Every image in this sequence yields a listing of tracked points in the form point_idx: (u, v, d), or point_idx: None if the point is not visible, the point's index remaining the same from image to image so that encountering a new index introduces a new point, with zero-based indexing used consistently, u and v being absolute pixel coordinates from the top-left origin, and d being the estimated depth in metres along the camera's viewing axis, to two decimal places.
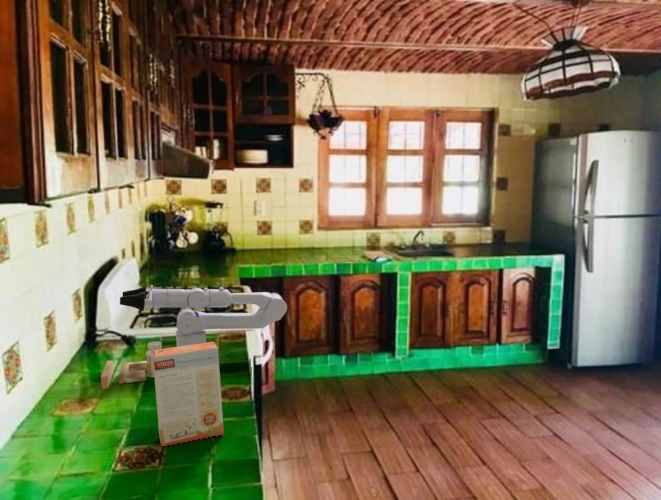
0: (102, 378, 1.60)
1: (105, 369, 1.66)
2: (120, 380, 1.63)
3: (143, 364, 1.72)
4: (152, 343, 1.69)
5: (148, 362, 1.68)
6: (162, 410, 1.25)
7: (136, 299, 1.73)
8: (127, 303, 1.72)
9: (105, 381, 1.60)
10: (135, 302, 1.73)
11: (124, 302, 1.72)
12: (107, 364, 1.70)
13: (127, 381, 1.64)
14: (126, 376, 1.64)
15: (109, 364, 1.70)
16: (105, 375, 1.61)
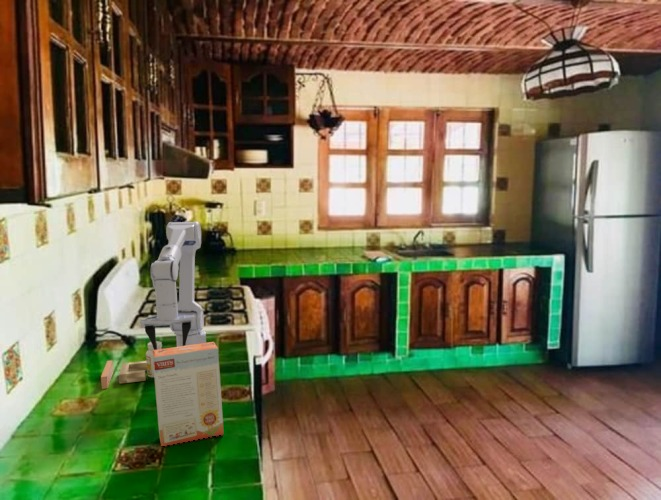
0: (102, 378, 1.60)
1: (105, 369, 1.66)
2: (120, 380, 1.63)
3: (143, 364, 1.72)
4: None
5: (148, 362, 1.68)
6: (162, 410, 1.25)
7: None
8: None
9: (105, 381, 1.60)
10: None
11: None
12: (107, 364, 1.70)
13: (127, 381, 1.64)
14: (126, 376, 1.64)
15: (109, 364, 1.70)
16: (105, 375, 1.61)
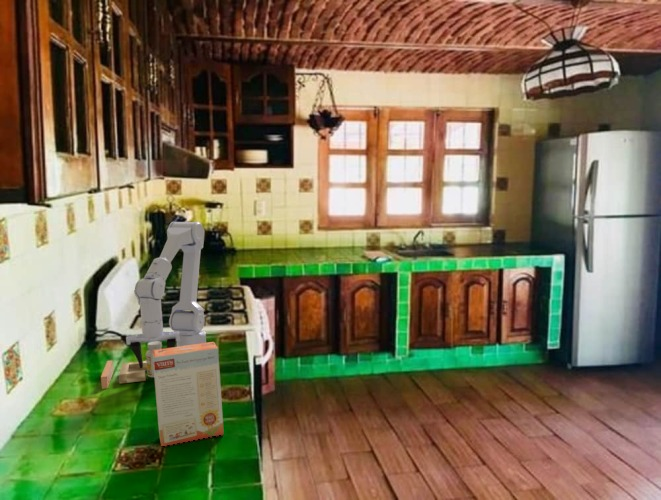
0: (102, 378, 1.60)
1: (105, 369, 1.66)
2: (120, 380, 1.63)
3: (143, 364, 1.72)
4: (152, 343, 1.69)
5: (148, 362, 1.68)
6: (162, 410, 1.25)
7: None
8: None
9: (105, 381, 1.60)
10: None
11: None
12: (107, 364, 1.70)
13: (127, 381, 1.64)
14: (126, 376, 1.64)
15: (109, 364, 1.70)
16: (105, 375, 1.61)
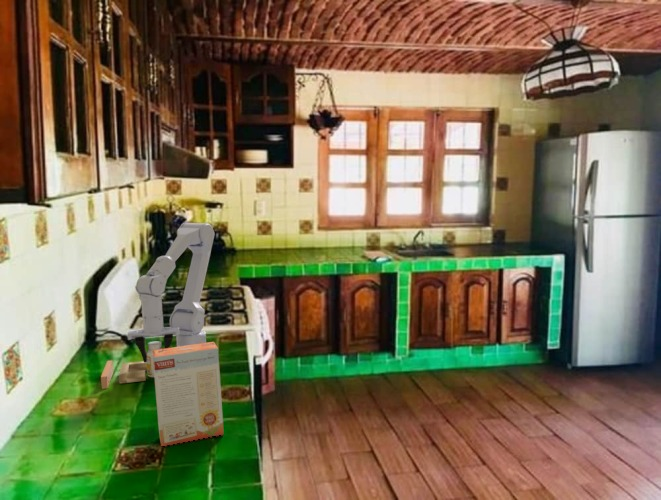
0: (102, 378, 1.60)
1: (105, 369, 1.66)
2: (120, 380, 1.63)
3: (143, 364, 1.72)
4: (152, 343, 1.69)
5: (148, 362, 1.68)
6: (162, 410, 1.25)
7: None
8: None
9: (105, 381, 1.60)
10: None
11: None
12: (107, 364, 1.70)
13: (127, 381, 1.64)
14: (126, 376, 1.64)
15: (109, 364, 1.70)
16: (105, 375, 1.61)
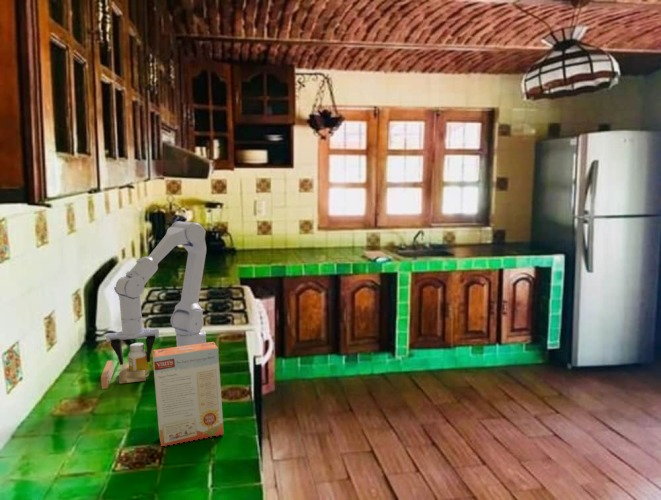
0: (102, 378, 1.60)
1: (105, 369, 1.66)
2: (120, 380, 1.63)
3: None
4: (134, 345, 1.68)
5: (130, 364, 1.67)
6: (162, 410, 1.25)
7: None
8: None
9: (105, 381, 1.60)
10: None
11: None
12: (107, 364, 1.70)
13: (127, 381, 1.64)
14: (126, 376, 1.64)
15: (109, 364, 1.70)
16: (105, 375, 1.61)
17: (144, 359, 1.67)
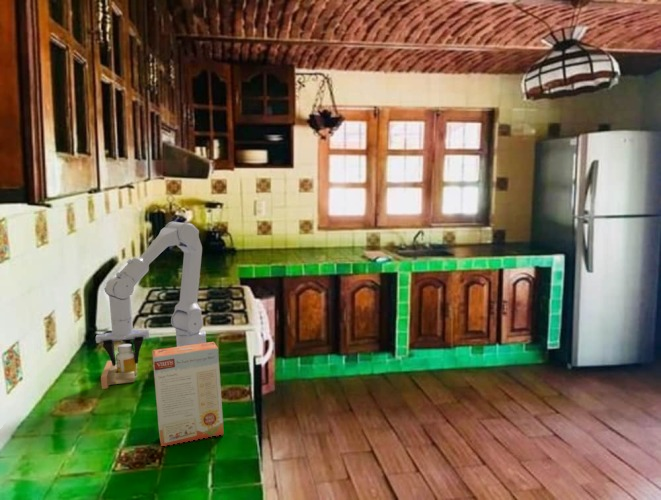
0: (102, 378, 1.60)
1: (105, 369, 1.66)
2: (109, 381, 1.63)
3: None
4: (122, 346, 1.67)
5: (118, 365, 1.66)
6: (162, 410, 1.25)
7: None
8: None
9: (105, 381, 1.60)
10: None
11: None
12: (107, 364, 1.70)
13: (116, 382, 1.63)
14: (115, 377, 1.63)
15: (109, 364, 1.70)
16: (105, 375, 1.61)
17: (132, 360, 1.67)
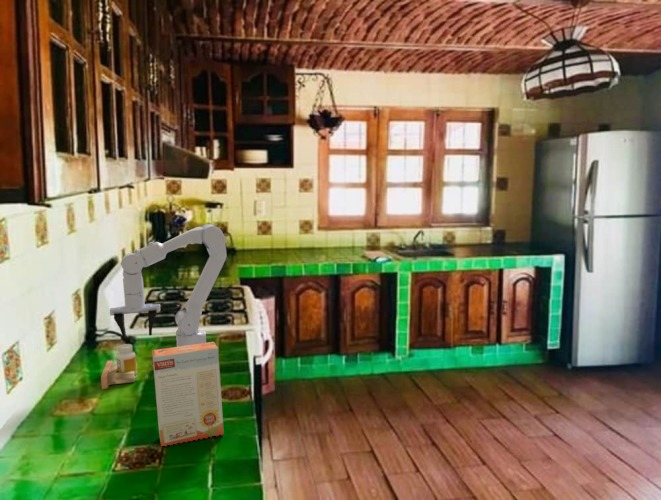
0: (102, 378, 1.60)
1: (105, 369, 1.66)
2: (109, 381, 1.63)
3: None
4: (122, 346, 1.67)
5: (118, 365, 1.66)
6: (162, 410, 1.25)
7: None
8: None
9: (105, 381, 1.60)
10: None
11: None
12: (107, 364, 1.70)
13: (116, 382, 1.63)
14: (115, 377, 1.63)
15: (109, 364, 1.70)
16: (105, 375, 1.61)
17: (132, 361, 1.67)
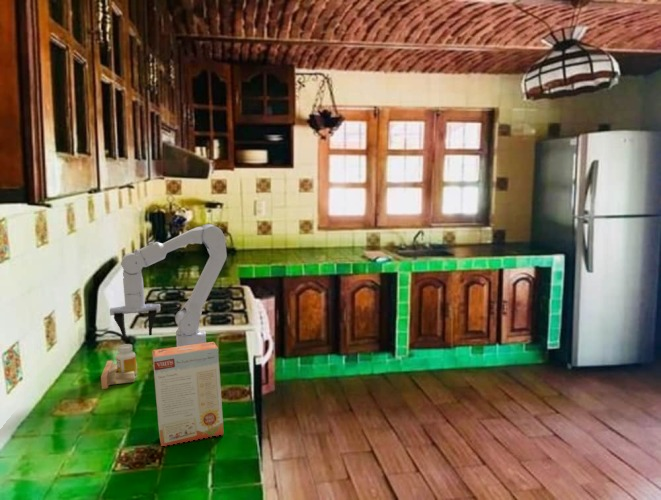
0: (102, 378, 1.60)
1: (105, 369, 1.66)
2: (109, 381, 1.63)
3: None
4: (122, 346, 1.67)
5: (118, 365, 1.66)
6: (162, 410, 1.25)
7: None
8: None
9: (105, 381, 1.60)
10: None
11: None
12: (107, 364, 1.70)
13: (116, 382, 1.63)
14: (115, 377, 1.63)
15: (109, 364, 1.70)
16: (105, 375, 1.61)
17: (132, 361, 1.67)
